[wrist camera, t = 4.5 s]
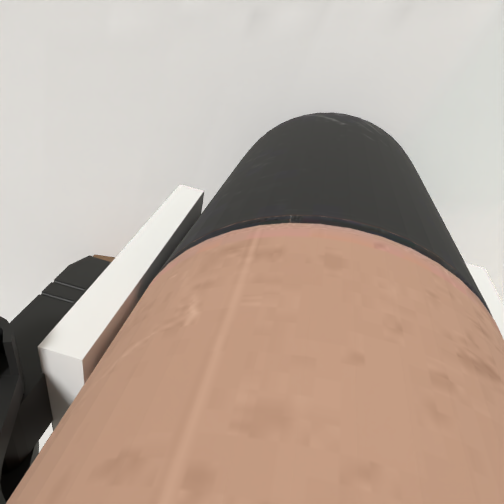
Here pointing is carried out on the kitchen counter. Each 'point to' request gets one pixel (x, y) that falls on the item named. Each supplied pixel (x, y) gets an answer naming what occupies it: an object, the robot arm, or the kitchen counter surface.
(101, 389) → the travel mug
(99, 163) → the kitchen counter surface
